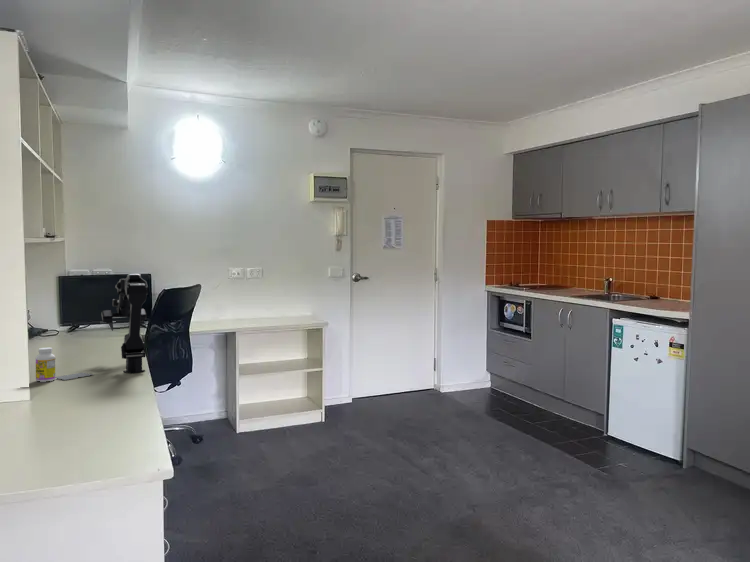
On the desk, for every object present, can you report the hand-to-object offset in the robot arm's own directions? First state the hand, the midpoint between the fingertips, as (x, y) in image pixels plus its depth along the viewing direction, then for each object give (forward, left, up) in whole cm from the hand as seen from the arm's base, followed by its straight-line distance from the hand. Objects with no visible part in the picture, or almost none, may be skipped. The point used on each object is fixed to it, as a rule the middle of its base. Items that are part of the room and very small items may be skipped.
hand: (122, 329), depth 264 cm
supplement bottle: (-15, +44, -15) cm, 49 cm away
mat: (-17, +34, -15) cm, 41 cm away
